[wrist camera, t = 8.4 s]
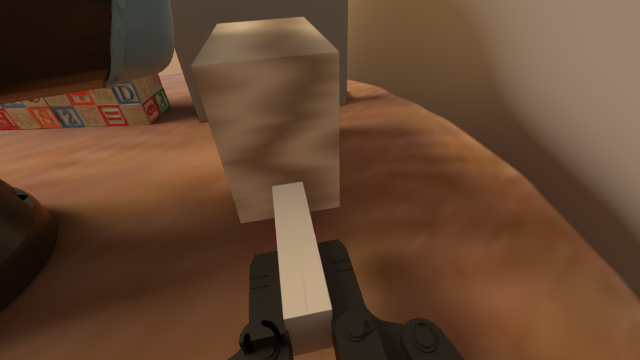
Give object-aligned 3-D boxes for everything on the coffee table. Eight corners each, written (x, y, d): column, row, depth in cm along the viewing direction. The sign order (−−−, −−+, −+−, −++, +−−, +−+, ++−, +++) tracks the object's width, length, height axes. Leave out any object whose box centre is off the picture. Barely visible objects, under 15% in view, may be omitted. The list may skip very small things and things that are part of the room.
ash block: (241, 224, 22) (191, 66, 15) (244, 138, 33) (217, 23, 26) (339, 207, 23) (339, 51, 16) (311, 129, 34) (303, 16, 26)
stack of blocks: (-3, 131, 38) (-89, 30, 30) (35, 112, 43) (-31, 20, 35) (152, 125, 37) (104, 19, 29) (172, 106, 42) (135, 11, 34)
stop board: (199, 122, 37) (156, -5, 28) (204, 107, 41) (168, -8, 32) (346, 104, 39) (348, -18, 31) (338, 91, 43) (337, -20, 34)
